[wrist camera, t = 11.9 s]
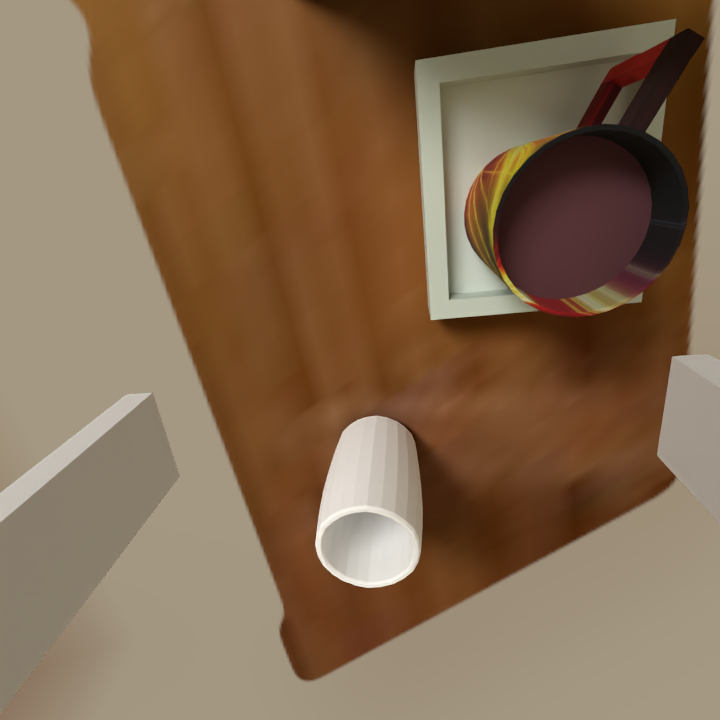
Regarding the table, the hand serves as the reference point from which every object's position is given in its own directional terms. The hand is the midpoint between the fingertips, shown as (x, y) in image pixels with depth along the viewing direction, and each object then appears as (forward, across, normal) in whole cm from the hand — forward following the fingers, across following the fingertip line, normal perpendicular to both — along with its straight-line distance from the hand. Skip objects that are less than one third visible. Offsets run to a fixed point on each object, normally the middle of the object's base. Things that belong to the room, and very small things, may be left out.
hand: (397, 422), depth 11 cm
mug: (+27, +10, +4) cm, 29 cm away
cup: (+29, -4, -19) cm, 35 cm away
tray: (+29, +10, +4) cm, 31 cm away
